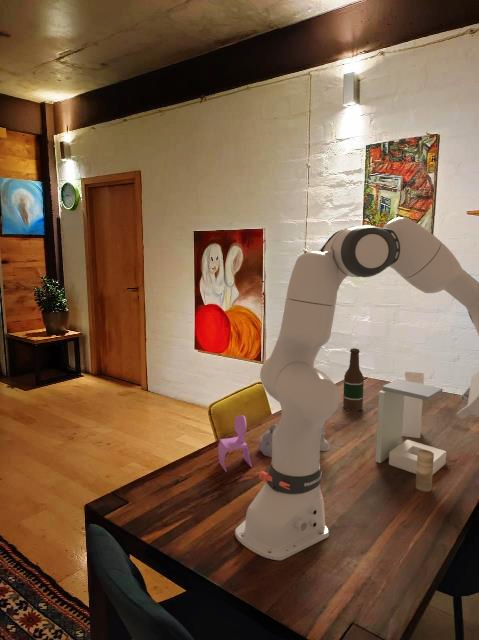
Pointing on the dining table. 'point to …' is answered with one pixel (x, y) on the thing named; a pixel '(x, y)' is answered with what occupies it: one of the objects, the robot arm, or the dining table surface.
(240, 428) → the toy chair
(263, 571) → the dining table surface
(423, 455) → the peg
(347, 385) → the beer bottle
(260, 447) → the grey conch shell
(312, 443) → the robot arm
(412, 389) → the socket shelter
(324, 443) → the chalice
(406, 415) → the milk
